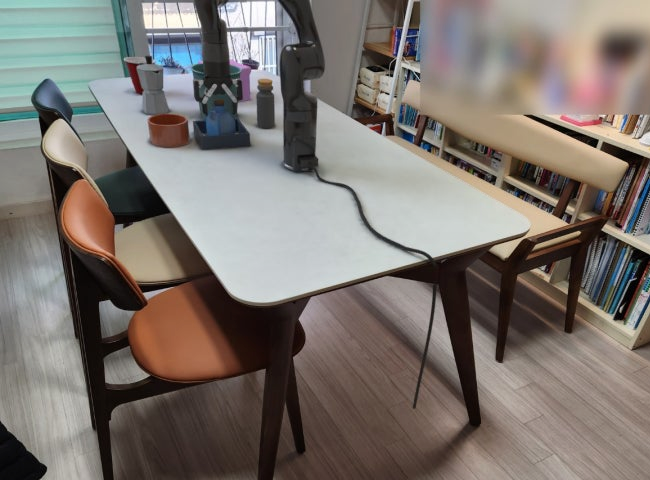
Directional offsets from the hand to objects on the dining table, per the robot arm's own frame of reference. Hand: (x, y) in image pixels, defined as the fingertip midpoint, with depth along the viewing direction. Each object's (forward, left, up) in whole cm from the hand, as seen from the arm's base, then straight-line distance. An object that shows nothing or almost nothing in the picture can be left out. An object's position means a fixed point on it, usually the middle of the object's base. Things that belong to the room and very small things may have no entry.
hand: (220, 114), depth 160 cm
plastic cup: (+54, +17, -8) cm, 57 cm away
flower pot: (+22, -4, -8) cm, 24 cm away
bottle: (+10, -17, -8) cm, 21 cm away
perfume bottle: (0, 0, -8) cm, 8 cm away
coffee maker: (+32, +16, -8) cm, 37 cm away
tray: (0, 0, -8) cm, 8 cm away
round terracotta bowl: (+2, +15, -8) cm, 17 cm away
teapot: (+45, -10, -8) cm, 47 cm away
